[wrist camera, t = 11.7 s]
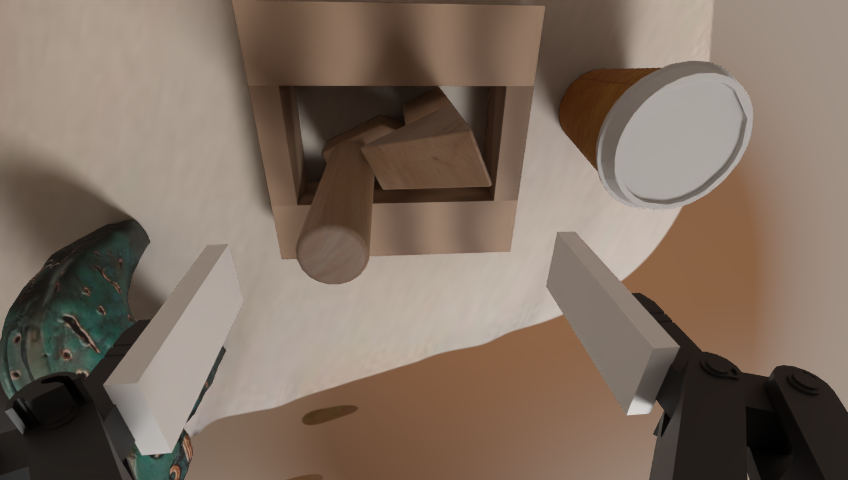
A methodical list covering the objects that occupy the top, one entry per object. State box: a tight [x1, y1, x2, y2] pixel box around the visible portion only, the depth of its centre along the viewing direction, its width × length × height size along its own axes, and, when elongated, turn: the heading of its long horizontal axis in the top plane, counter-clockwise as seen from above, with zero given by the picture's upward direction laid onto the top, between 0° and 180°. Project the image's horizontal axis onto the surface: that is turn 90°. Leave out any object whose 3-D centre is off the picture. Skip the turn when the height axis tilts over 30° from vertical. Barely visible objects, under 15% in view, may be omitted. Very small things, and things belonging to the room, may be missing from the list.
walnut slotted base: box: [232, 0, 545, 259], centre depth 32 cm, size 20×19×5 cm
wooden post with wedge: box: [296, 88, 492, 284], centre depth 27 cm, size 4×11×18 cm, turn 114°
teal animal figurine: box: [0, 220, 226, 480], centre depth 32 cm, size 20×6×20 cm, turn 11°
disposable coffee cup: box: [559, 61, 753, 210], centre depth 30 cm, size 10×10×12 cm
